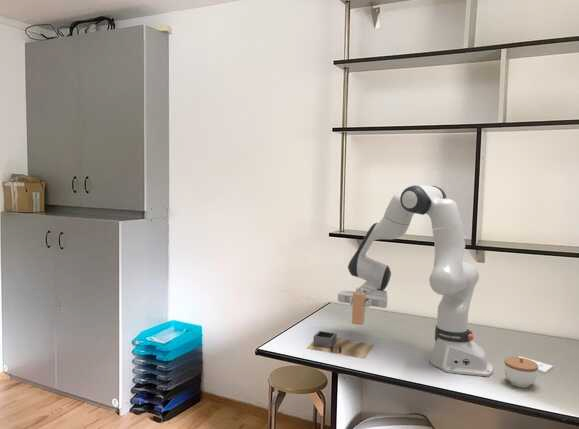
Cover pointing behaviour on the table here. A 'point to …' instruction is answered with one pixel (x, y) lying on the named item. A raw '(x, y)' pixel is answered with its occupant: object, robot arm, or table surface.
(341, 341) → the cable board
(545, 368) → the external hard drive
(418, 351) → the table surface
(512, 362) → the lidded jar
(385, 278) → the robot arm
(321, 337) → the end holder
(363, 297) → the tan tall block
